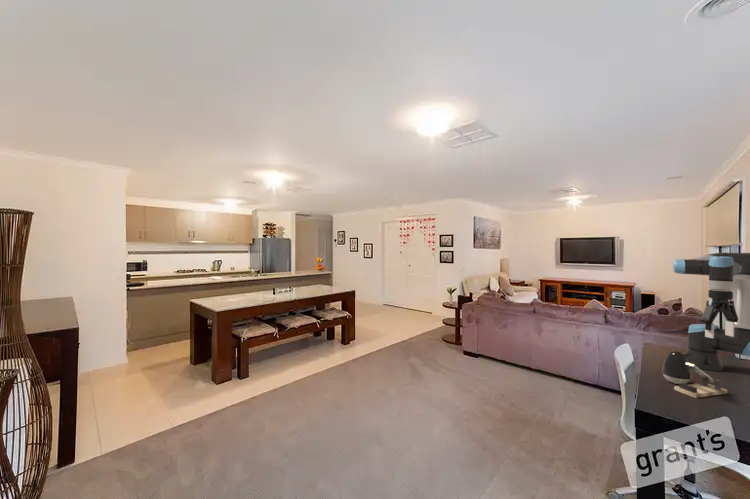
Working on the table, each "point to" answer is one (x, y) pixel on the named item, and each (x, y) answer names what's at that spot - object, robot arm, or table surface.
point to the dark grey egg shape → (676, 368)
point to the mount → (701, 389)
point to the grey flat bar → (700, 372)
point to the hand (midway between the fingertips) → (719, 336)
